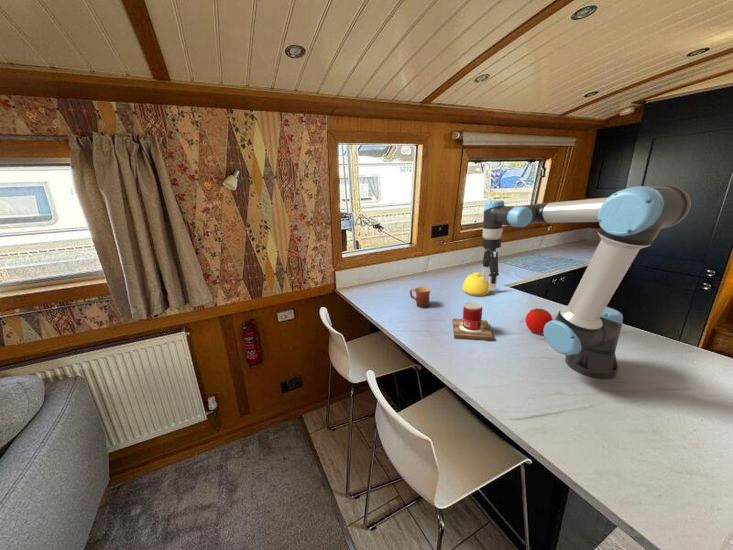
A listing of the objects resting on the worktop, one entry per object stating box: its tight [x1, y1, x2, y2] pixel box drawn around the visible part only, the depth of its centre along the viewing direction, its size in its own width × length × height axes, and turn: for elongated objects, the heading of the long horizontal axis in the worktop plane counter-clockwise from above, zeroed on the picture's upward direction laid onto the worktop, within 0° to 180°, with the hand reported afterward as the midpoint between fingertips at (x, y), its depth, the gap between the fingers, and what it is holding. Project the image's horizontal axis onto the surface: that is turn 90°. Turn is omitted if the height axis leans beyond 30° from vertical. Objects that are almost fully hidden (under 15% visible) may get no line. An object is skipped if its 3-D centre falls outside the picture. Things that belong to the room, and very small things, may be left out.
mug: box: [409, 286, 432, 309], centre depth 162 cm, size 12×9×10 cm
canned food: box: [462, 301, 483, 330], centre depth 131 cm, size 8×8×11 cm
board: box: [452, 318, 494, 342], centre depth 133 cm, size 16×16×2 cm
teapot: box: [461, 272, 491, 297], centre depth 178 cm, size 20×19×13 cm
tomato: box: [525, 307, 554, 334], centre depth 128 cm, size 10×11×11 cm
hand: (488, 285), depth 127 cm, fingers open, 13 cm apart
